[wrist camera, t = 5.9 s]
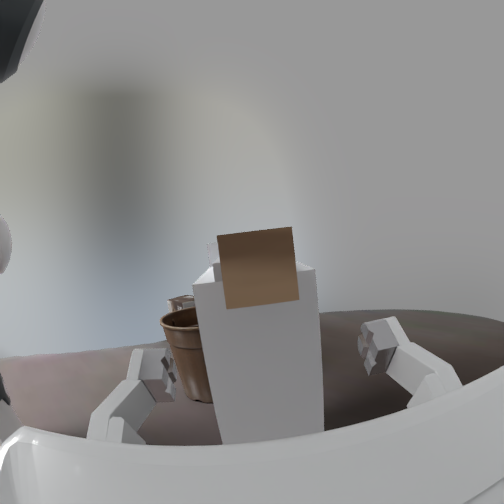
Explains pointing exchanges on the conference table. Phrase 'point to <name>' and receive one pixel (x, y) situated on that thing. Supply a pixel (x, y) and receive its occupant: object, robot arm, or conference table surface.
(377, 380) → the conference table surface
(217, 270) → the switch console stand
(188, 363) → the plant pot
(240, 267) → the lever bar
